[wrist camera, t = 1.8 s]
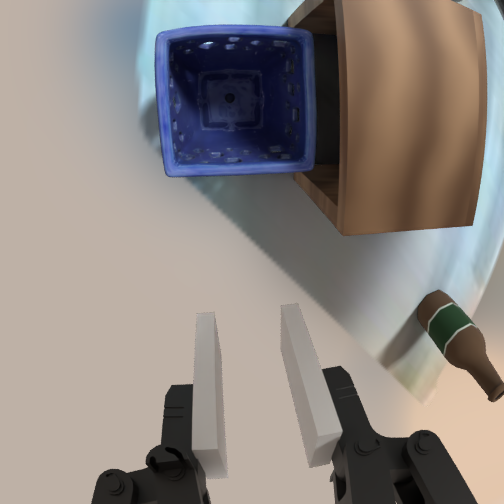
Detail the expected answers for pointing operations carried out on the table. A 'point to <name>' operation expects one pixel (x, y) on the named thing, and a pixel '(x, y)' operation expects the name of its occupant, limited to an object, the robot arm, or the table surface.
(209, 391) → the robot arm
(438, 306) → the beer bottle
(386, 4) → the shelf
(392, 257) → the table surface
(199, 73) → the flower pot
